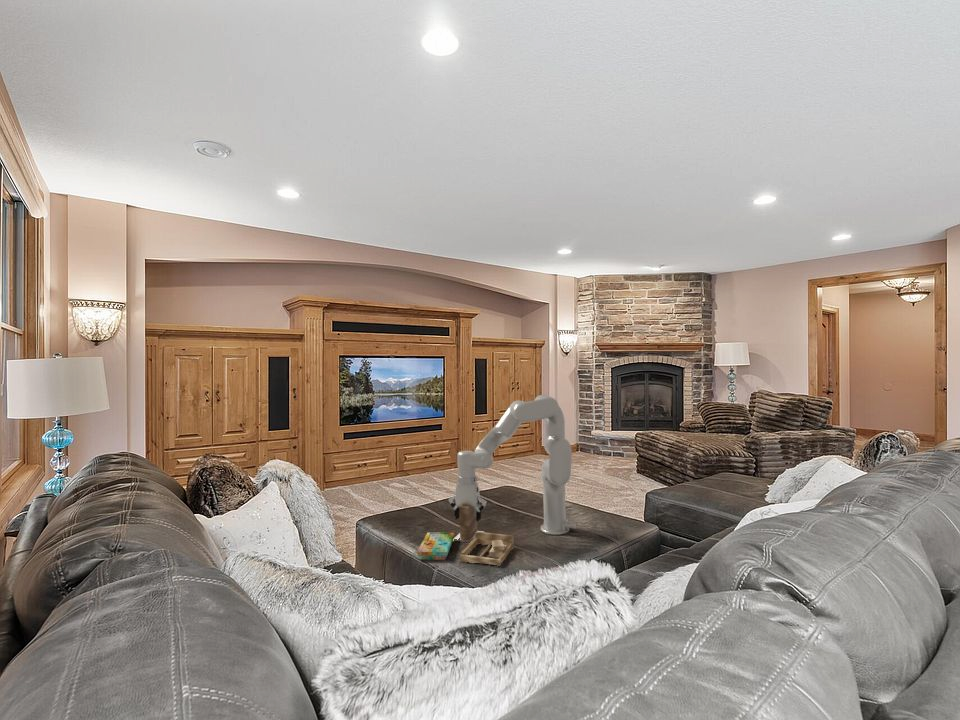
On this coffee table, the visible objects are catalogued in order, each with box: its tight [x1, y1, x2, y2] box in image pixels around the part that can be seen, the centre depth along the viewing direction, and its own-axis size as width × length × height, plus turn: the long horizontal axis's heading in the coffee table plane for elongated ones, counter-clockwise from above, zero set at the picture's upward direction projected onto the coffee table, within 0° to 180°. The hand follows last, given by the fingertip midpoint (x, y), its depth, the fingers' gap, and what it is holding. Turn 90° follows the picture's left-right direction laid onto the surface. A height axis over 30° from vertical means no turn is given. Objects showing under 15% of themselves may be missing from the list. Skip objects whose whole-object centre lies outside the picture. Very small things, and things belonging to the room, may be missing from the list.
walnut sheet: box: [458, 505, 478, 540], centre depth 221 cm, size 4×10×14 cm, turn 160°
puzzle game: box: [416, 532, 456, 561], centre depth 208 cm, size 12×5×20 cm
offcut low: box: [488, 545, 507, 557], centre depth 202 cm, size 5×8×3 cm, turn 164°
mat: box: [453, 530, 484, 542], centre depth 221 cm, size 10×13×1 cm
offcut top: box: [491, 540, 504, 552], centre depth 202 cm, size 4×6×2 cm, turn 6°
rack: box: [459, 531, 515, 565], centre depth 203 cm, size 16×18×5 cm
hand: (468, 519), depth 221 cm, fingers open, 9 cm apart
